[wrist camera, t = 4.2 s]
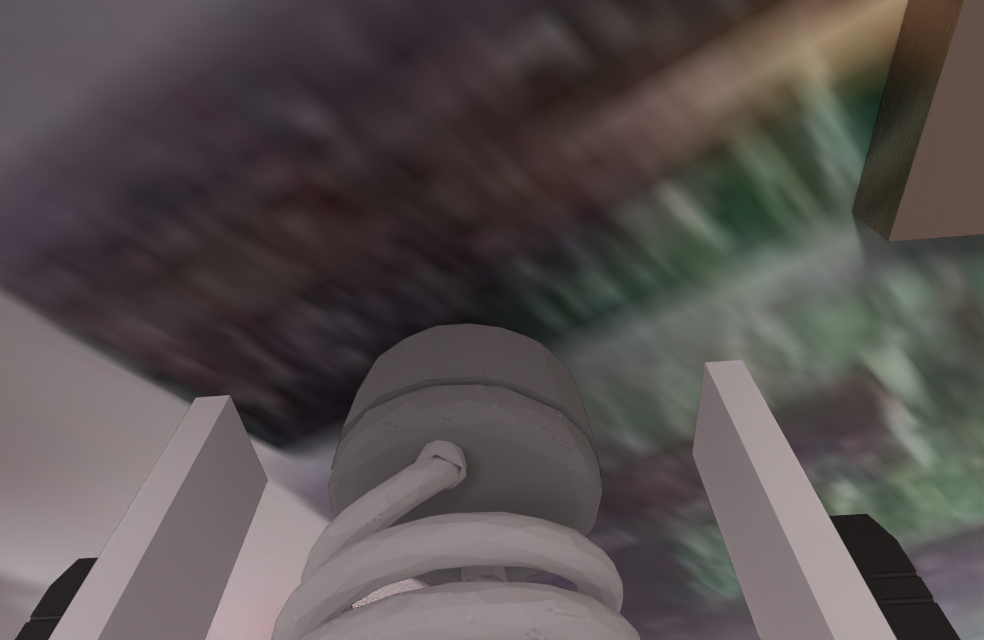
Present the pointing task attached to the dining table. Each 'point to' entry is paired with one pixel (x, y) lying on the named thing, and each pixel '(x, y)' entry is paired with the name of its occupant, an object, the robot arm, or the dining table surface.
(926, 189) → the lamp base
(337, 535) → the light bulb
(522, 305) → the dining table surface
